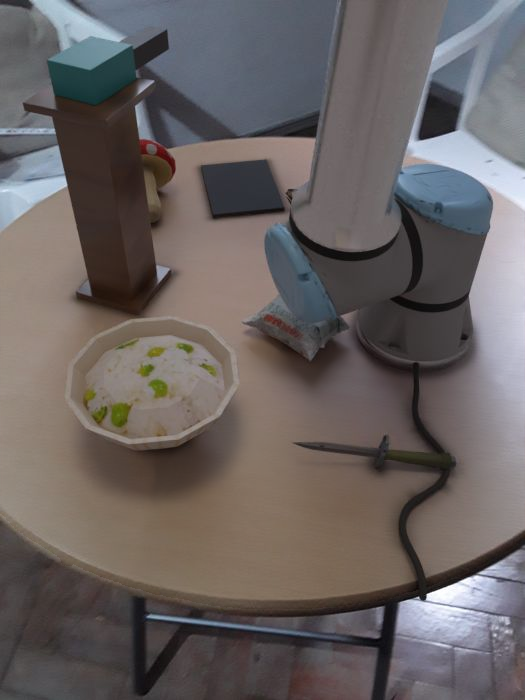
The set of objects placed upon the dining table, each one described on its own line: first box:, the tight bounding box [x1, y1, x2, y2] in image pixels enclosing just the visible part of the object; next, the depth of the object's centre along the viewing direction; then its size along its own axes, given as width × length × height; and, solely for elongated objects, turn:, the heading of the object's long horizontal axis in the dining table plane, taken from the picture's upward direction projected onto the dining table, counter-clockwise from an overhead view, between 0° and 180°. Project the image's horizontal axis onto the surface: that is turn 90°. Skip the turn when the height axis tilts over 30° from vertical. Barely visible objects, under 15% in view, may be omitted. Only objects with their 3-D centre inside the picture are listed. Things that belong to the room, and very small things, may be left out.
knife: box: [291, 433, 457, 471], centre depth 75 cm, size 19×2×5 cm, turn 87°
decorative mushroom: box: [139, 138, 177, 224], centre depth 111 cm, size 11×11×15 cm
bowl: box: [64, 315, 240, 451], centre depth 77 cm, size 19×19×10 cm
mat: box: [200, 158, 286, 218], centre depth 118 cm, size 16×12×1 cm
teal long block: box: [46, 24, 170, 105], centre depth 81 cm, size 18×6×4 cm, turn 153°
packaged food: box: [241, 293, 351, 362], centre depth 90 cm, size 9×12×5 cm
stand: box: [22, 77, 172, 316], centre depth 89 cm, size 11×11×29 cm
